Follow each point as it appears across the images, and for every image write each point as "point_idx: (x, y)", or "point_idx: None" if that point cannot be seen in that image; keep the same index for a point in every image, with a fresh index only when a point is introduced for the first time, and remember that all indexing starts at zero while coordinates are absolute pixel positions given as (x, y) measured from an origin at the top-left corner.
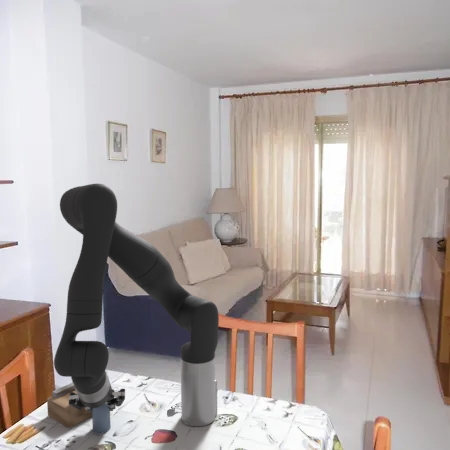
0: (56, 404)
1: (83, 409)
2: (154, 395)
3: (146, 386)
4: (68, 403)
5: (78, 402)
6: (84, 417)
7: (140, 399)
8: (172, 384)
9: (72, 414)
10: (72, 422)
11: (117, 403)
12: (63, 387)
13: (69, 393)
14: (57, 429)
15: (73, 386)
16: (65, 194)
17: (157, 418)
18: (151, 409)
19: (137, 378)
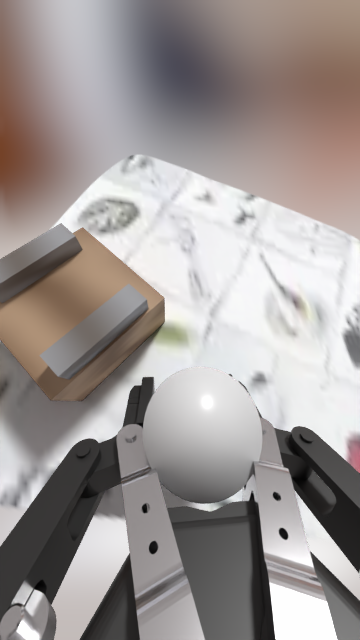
0: (4, 342)
1: (114, 354)
2: (287, 264)
3: (256, 226)
4: (50, 345)
5: (66, 551)
6: (122, 359)
7: (257, 277)
8: (315, 226)
9: (77, 387)
10: (87, 390)
11: (315, 515)
12: (18, 253)
13: (52, 275)
14: (45, 403)
15: (59, 249)
16: None
17: (330, 375)
18: (299, 327)
19: (226, 193)
